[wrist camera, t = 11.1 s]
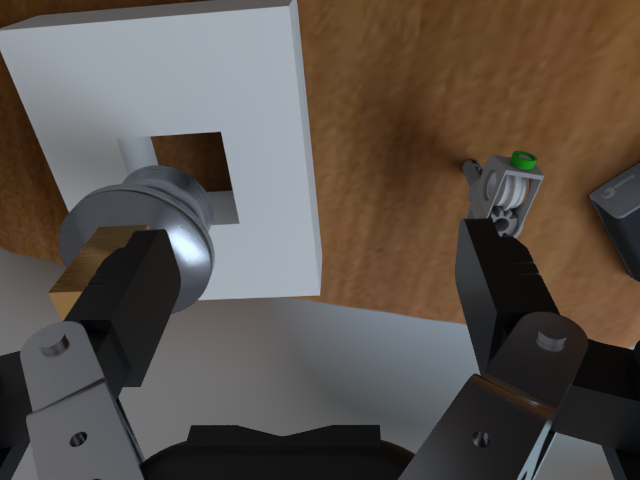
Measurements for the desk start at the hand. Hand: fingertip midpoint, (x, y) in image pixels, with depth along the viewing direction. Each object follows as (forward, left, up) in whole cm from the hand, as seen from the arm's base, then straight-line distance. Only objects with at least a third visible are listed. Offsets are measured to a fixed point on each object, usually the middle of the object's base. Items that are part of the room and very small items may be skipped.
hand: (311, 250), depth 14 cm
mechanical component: (+12, +12, -29) cm, 34 cm away
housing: (+9, -12, -29) cm, 33 cm away
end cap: (+9, -12, -20) cm, 25 cm away
